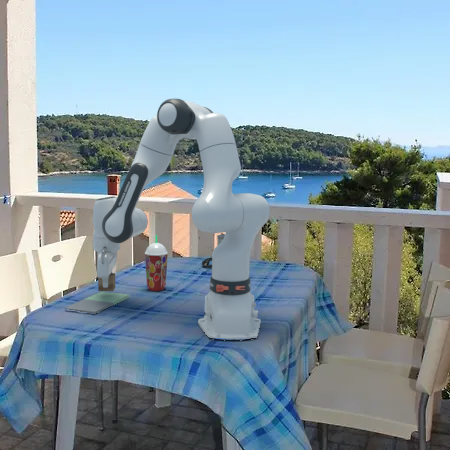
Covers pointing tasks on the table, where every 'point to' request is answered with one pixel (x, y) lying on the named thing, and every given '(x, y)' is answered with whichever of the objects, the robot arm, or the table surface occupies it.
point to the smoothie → (156, 266)
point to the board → (98, 302)
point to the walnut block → (111, 283)
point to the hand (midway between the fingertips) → (107, 284)
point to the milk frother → (206, 261)
